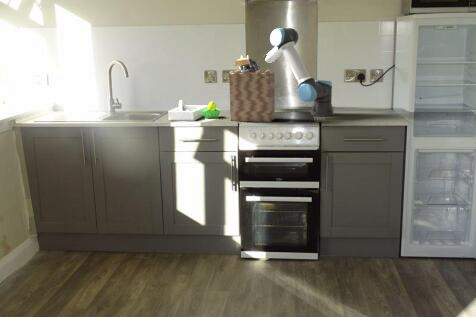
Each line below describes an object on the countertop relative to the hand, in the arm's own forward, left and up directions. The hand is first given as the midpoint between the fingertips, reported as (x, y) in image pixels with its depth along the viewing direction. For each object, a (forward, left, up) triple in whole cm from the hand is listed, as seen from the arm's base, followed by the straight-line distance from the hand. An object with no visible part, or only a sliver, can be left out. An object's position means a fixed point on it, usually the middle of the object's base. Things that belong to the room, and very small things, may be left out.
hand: (244, 57), depth 331 cm
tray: (+39, +4, -39) cm, 56 cm away
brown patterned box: (-7, +8, -39) cm, 41 cm away
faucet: (+43, +4, -40) cm, 58 cm away
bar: (0, +4, -4) cm, 6 cm away
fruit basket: (+23, +3, -40) cm, 46 cm away
